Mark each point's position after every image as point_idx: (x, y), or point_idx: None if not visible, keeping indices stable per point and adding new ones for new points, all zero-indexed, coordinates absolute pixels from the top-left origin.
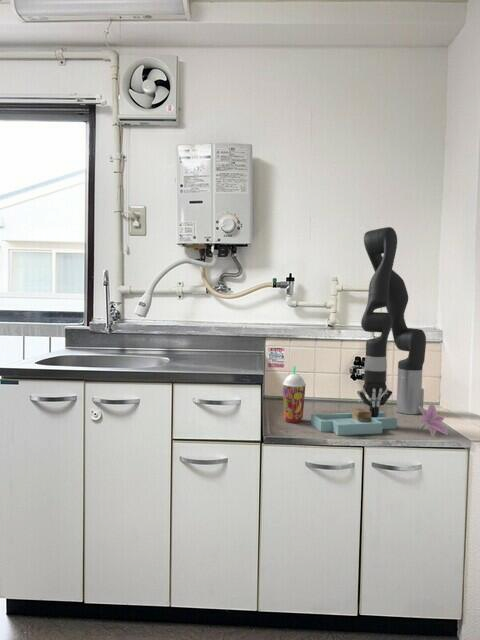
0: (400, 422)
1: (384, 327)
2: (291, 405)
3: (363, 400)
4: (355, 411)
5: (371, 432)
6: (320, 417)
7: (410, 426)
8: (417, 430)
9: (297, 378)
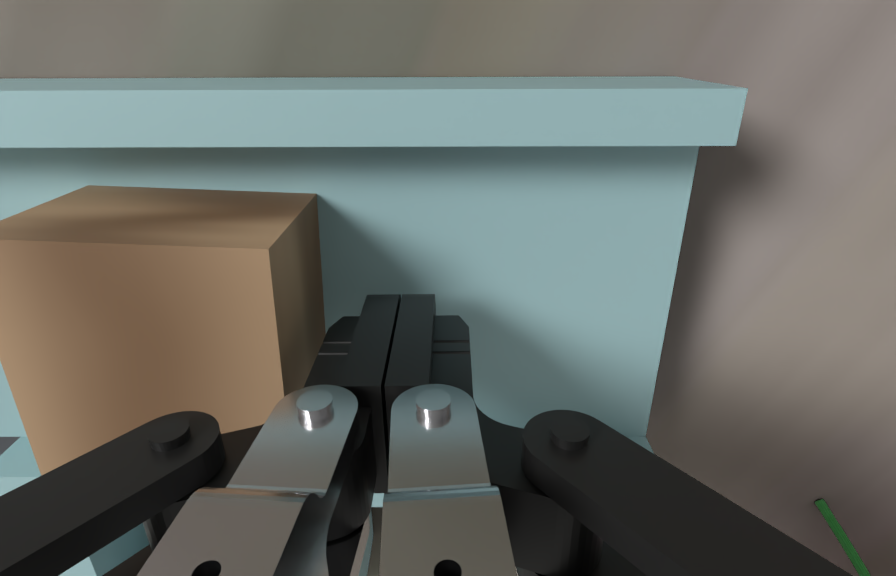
0: (873, 180)
1: None
2: None
3: (43, 518)
4: (19, 379)
5: None
6: None
7: (838, 369)
8: (783, 499)
9: None
